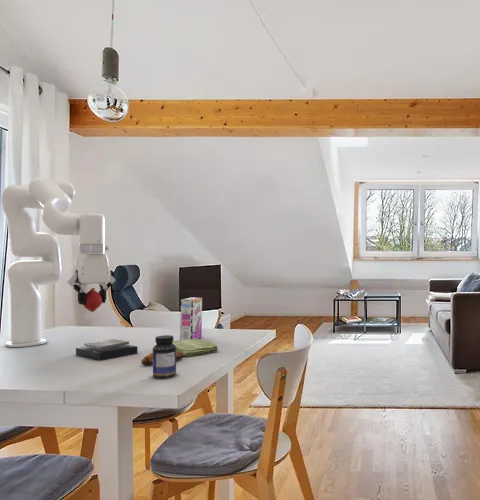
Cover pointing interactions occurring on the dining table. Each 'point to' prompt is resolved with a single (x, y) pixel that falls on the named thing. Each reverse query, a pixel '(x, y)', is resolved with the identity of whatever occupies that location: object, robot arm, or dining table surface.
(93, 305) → the onion
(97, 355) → the scale
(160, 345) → the pill bottle
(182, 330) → the candy bar box
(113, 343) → the scale pan
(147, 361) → the croissant
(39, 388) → the dining table surface
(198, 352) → the washcloth
